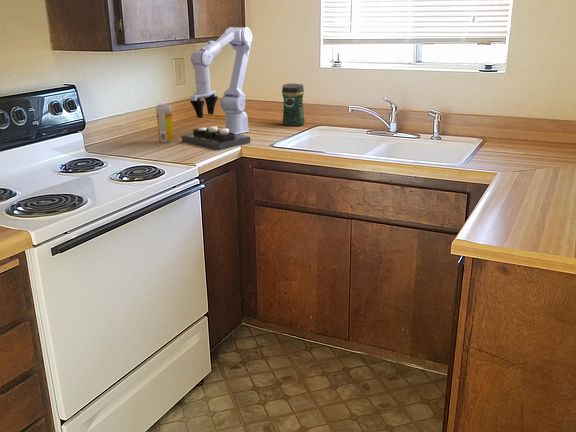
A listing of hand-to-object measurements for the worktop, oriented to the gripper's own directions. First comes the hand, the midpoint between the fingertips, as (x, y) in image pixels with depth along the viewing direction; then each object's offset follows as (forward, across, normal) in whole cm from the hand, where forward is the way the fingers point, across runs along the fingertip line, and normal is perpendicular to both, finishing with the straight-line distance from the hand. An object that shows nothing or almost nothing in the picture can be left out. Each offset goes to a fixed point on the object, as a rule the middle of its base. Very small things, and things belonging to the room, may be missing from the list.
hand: (205, 115), depth 237 cm
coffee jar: (+11, -43, +18) cm, 48 cm away
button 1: (+7, 0, -2) cm, 8 cm away
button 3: (+6, +4, +11) cm, 13 cm away
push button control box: (+10, +1, +4) cm, 11 cm away
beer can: (+10, +8, -15) cm, 20 cm away
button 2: (+6, +2, +5) cm, 8 cm away
